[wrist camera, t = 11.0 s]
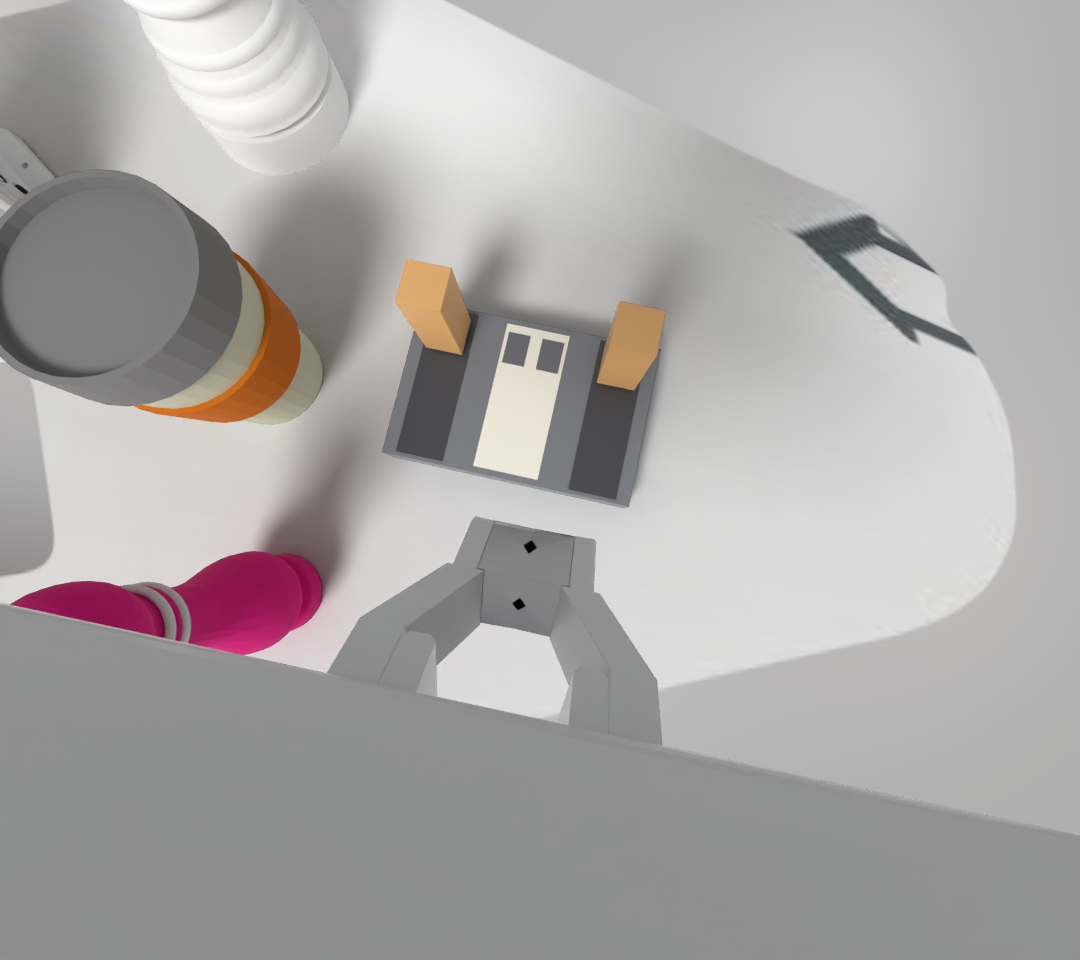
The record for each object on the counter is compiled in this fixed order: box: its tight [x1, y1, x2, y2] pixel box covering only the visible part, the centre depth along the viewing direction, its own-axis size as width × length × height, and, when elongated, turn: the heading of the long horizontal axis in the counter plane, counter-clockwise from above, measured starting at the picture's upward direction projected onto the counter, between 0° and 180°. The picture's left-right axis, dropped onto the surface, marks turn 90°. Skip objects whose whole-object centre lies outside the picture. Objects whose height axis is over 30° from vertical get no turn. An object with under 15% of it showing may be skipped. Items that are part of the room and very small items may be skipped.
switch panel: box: [382, 310, 661, 508], centre depth 35 cm, size 13×20×3 cm, turn 77°
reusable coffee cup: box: [0, 169, 323, 425], centre depth 29 cm, size 12×12×15 cm
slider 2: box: [597, 301, 666, 390], centre depth 30 cm, size 3×3×7 cm
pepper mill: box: [10, 551, 322, 655], centre depth 25 cm, size 7×7×20 cm
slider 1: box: [395, 259, 471, 355], centre depth 30 cm, size 3×3×7 cm
